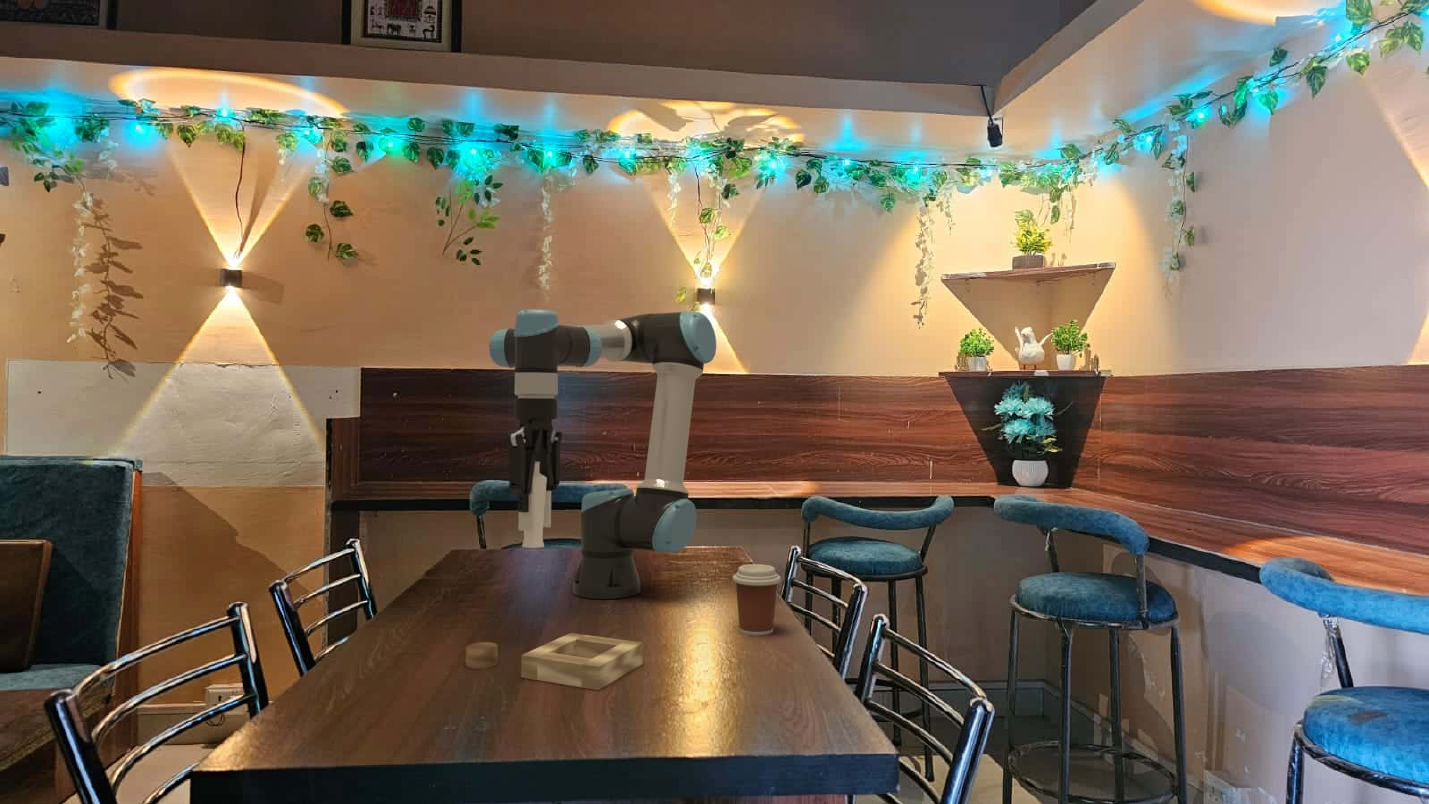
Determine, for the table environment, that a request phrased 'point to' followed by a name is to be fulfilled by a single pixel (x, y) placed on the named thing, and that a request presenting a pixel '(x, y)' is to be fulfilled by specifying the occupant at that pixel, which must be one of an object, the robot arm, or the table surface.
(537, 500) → the perfume bottle
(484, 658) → the brown short cylinder
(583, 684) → the square wooden frame
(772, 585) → the coffee cup
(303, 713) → the table surface
